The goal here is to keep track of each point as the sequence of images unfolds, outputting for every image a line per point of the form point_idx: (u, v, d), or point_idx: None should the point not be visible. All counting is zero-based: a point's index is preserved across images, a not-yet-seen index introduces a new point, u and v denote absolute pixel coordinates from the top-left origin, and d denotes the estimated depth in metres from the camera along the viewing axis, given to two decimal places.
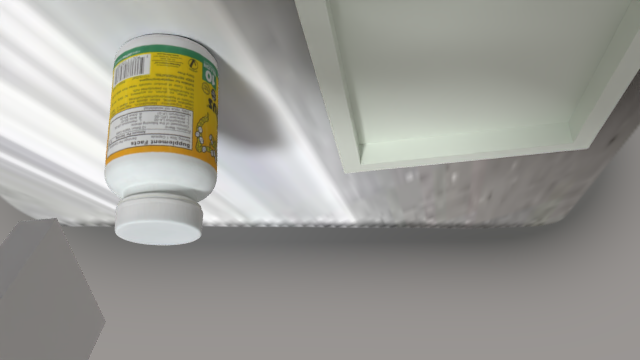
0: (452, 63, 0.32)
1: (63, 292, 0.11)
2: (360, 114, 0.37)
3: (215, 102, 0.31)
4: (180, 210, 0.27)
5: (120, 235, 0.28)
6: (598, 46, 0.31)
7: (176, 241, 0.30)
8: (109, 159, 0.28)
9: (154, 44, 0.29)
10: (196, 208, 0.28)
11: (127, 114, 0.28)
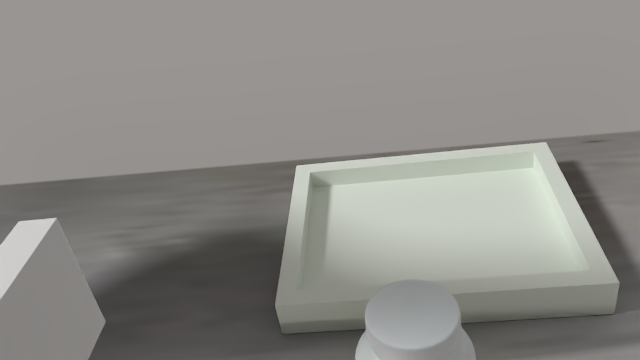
0: (430, 239, 0.42)
1: (63, 292, 0.11)
2: None
3: None
4: None
5: (407, 345, 0.24)
6: (421, 181, 0.48)
7: (445, 303, 0.25)
8: None
9: None
10: None
11: None
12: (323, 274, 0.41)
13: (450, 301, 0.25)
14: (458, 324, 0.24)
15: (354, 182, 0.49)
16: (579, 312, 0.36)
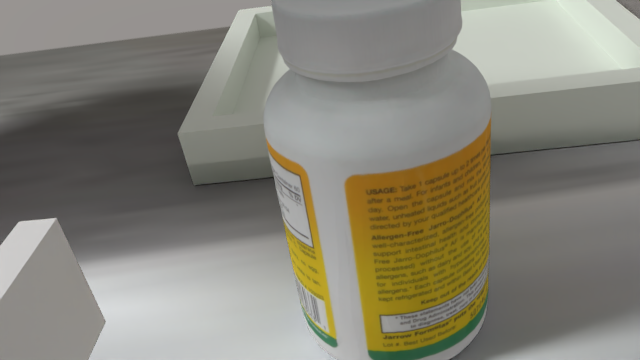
0: None
1: (63, 292, 0.11)
2: None
3: None
4: None
5: (348, 11, 0.11)
6: None
7: None
8: (285, 162, 0.13)
9: None
10: None
11: (281, 210, 0.15)
12: None
13: None
14: None
15: None
16: None
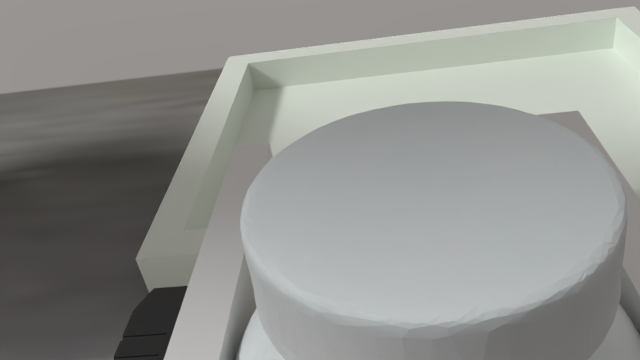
0: None
1: None
2: None
3: None
4: None
5: (404, 306, 0.05)
6: (429, 73, 0.29)
7: (550, 154, 0.07)
8: None
9: None
10: None
11: None
12: None
13: (570, 146, 0.07)
14: (626, 219, 0.06)
15: (320, 80, 0.30)
16: None
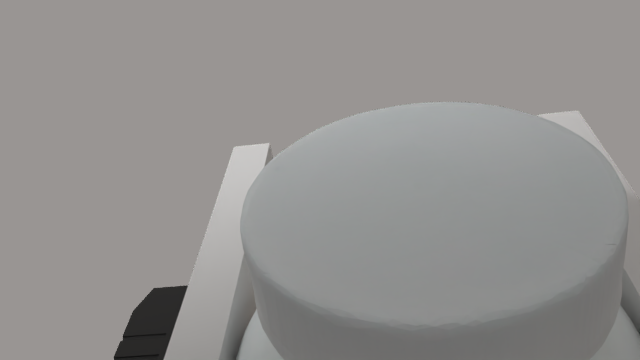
0: None
1: None
2: None
3: None
4: None
5: (404, 308, 0.05)
6: None
7: (551, 154, 0.07)
8: None
9: None
10: None
11: None
12: None
13: (571, 147, 0.07)
14: (627, 221, 0.06)
15: None
16: None
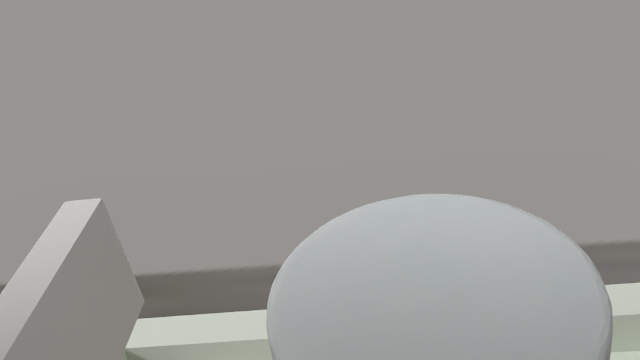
0: None
1: (108, 270, 0.11)
2: None
3: None
4: None
5: None
6: None
7: (544, 259, 0.07)
8: None
9: None
10: None
11: None
12: None
13: (563, 252, 0.07)
14: (611, 333, 0.06)
15: None
16: None
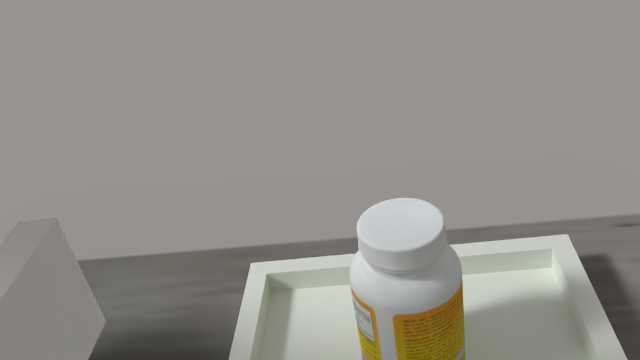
0: None
1: (63, 292, 0.11)
2: None
3: None
4: None
5: (395, 247, 0.26)
6: None
7: (430, 214, 0.27)
8: (362, 303, 0.28)
9: None
10: None
11: (356, 319, 0.30)
12: None
13: (435, 213, 0.27)
14: (442, 230, 0.26)
15: (323, 285, 0.39)
16: None
